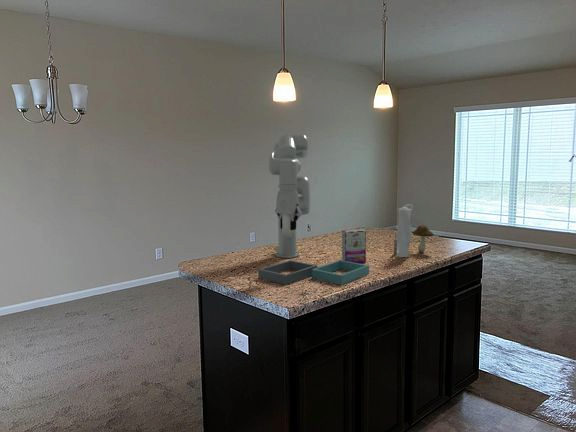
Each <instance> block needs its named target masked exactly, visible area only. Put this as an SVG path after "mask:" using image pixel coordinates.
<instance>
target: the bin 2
mask: <svg viewBox="0 0 576 432" xmlns="http://www.w3.org/2000/svg"><path fill="white" fill-rule="evenodd" d="M340 270H342V271H347V272H344V273H341V274H339V273H336V271H340ZM369 274H370V265H369V264H364V263H353V262H347V261H342V259H339V260H336V261H333V262H330V263H327V264H324V265H321V266H317V268H314V269H312V276H311V279H313V280H318V281H323V282H326V283H332V284H337V285H340V286H342V285H345V284H348V283H351V282H353V281H356V280H358V279H360V278H363V277H365V276H368V275H369Z"/></svg>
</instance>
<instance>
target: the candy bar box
mask: <svg viewBox="0 0 576 432" xmlns="http://www.w3.org/2000/svg"><path fill="white" fill-rule="evenodd" d="M366 249H367V231H366V230H365V229H363V228H360V229H346V230H345V229H343V230H342V231H341V260H342V261H347V262H353V263H358V264H364V263H366V261H367V259H366V258H367V256H366V255H367V254H366V253H367V250H366Z"/></svg>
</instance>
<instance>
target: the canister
mask: <svg viewBox="0 0 576 432" xmlns="http://www.w3.org/2000/svg"><path fill="white" fill-rule="evenodd" d="M293 216H294V215H293ZM291 221H292V220H291V216H290V215H287V214H282V236H294V230H291V224H290V222H291Z"/></svg>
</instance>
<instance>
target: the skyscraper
mask: <svg viewBox="0 0 576 432" xmlns="http://www.w3.org/2000/svg"><path fill="white" fill-rule="evenodd" d="M407 206H411V208H409V207H407ZM413 208H414V204H411V203H408V204H405V205H404V206H403V207H398V208H397V212H398V213H397V214H398V223H397V227H396V228H397V229H396V234H395V235H394V236H395V237H394V245H393V254H392V255H393V256H394V257H395V258H396V257H397V258H400V259H401V257H402V258H403V257H410V258H411V256H410V254H409V251H410V245H411V241H412V223H411V219H410V218H411V216H412V212H413ZM403 259H404V258H403Z"/></svg>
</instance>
